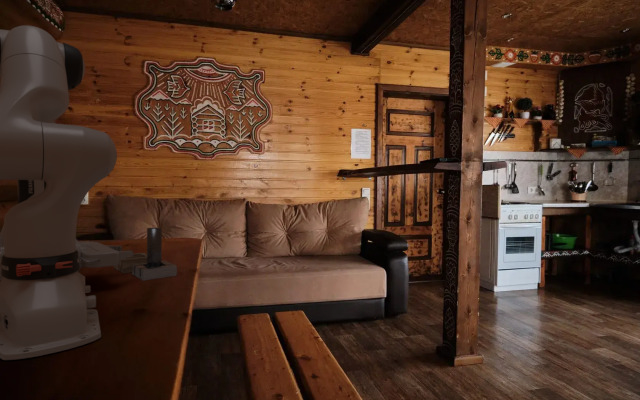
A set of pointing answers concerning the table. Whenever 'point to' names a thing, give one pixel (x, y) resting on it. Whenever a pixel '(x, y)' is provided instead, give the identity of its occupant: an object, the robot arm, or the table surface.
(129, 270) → the rack
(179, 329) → the table surface
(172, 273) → the socket
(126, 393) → the table surface
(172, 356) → the table surface
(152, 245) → the dark rounded handle
